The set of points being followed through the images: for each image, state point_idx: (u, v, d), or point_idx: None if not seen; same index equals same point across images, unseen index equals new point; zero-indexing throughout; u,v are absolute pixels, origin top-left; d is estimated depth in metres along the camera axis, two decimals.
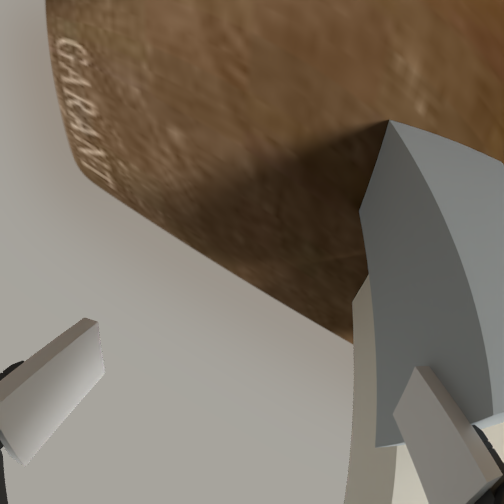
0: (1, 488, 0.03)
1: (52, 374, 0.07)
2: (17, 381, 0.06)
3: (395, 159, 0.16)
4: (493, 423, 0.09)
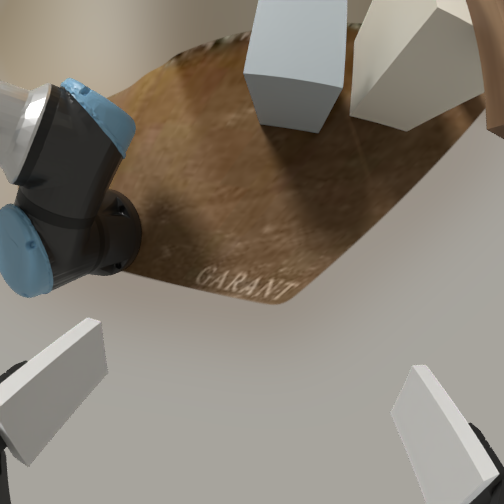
0: (4, 489, 0.03)
1: (56, 374, 0.07)
2: (21, 381, 0.06)
3: (268, 119, 0.37)
4: (312, 28, 0.21)
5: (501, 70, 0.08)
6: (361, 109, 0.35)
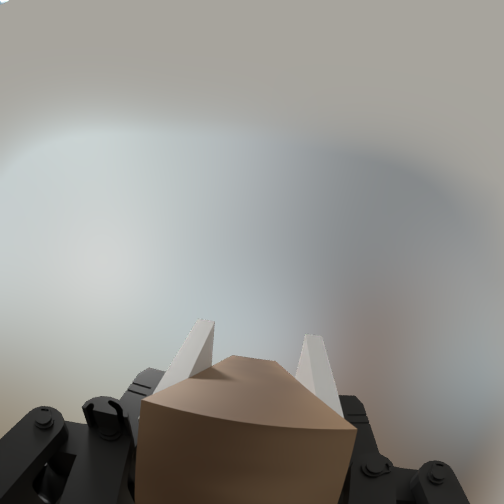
0: None
1: None
2: None
3: None
4: None
5: None
6: None
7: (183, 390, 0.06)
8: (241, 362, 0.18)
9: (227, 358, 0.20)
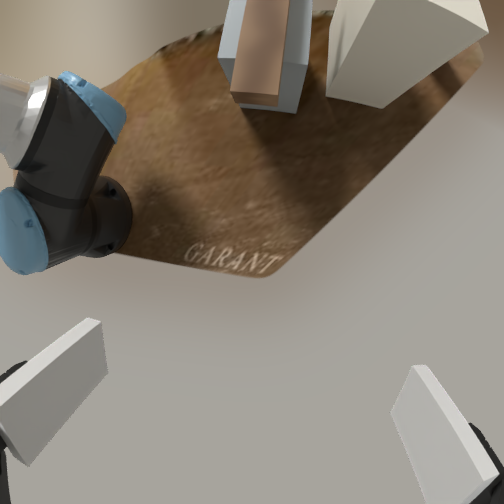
0: (4, 488, 0.03)
1: (56, 374, 0.07)
2: (21, 381, 0.06)
3: None
4: None
5: None
6: (335, 89, 0.37)
7: (237, 72, 0.21)
8: None
9: None
